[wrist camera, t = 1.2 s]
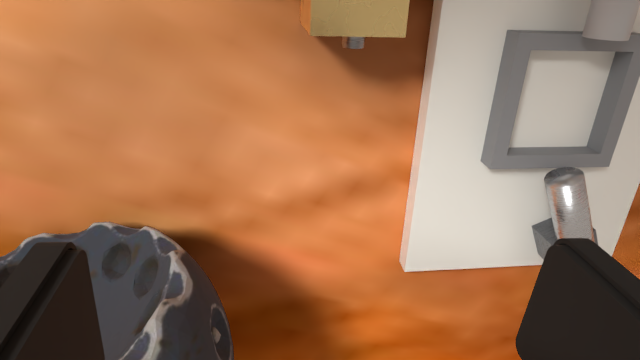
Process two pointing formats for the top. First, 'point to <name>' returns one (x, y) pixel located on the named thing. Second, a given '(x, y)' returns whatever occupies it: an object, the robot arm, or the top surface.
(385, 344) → the top surface
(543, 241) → the angled shaft
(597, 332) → the robot arm
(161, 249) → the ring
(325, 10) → the block
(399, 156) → the top surface
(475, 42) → the white fixture base plate
